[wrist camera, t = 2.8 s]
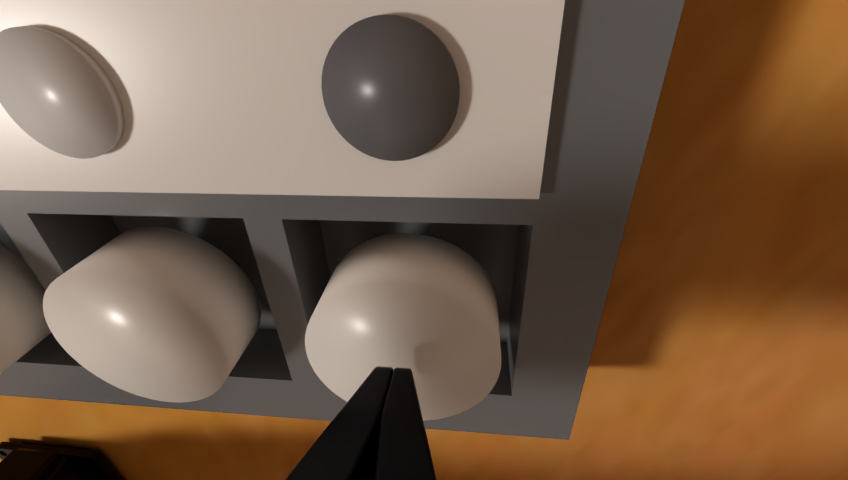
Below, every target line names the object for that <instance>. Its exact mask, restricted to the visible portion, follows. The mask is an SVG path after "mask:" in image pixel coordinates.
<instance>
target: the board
mask: <svg viewBox="0 0 848 480" xmlns="http://www.w3.org/2000/svg"><path fill="white" fill-rule="evenodd" d="M684 2H685V0H0V244H1V245H2V246H4V247H5V248H7V249H8V250H10V251H11V252H12V253H14V254H15V255H17V256H18V257H19V258H20V259H22V260H23V261H24V262H25V263H26V264H27V265H28V266H29V267H30V268H31V270H32V271H33V273H34V274H35V276H36V277H37V279H38V280H39V282H40V283H41V285H42V286H43V288H44V289H45V291H46V289H47V288H48V286H49V285H50V284H51V283H52V282H53V281H54V280H55V279H56V278H58V277H59V276H60V275H62V274H63V273H65V272H66V271H68V270H69V269H71V268H72V267H73V266H75V265H76V264H78V263H79V262H81V261H82V260H84V259H85V258H87V257H88V256H89V255H91V254H92V253H94V252H95V251H97V250H98V249H100V248H101V247H102V246H104V245H105V244H107V243H108V242H110V241H111V240H113V239H114V238H116V237H117V236H118V235H120V234H122V233H124V232H125V231H128V230H131V229H134V228H139V227H151V226H155V227H165V228H170V229H176V230H179V231H182V232H186V233H188V234H191V235H193V236H196V237H198V238H200V239H202V240H204V241H206V242H208V243H210V244H211V245H213V246H215V247H216V248H218V249H219V250H221V251H222V252H223V253H225V254H226V255H227V256H228V257H230V258H231V259H232V260H233V261H234V262H235V263H236V264H237V265H238V266H239V267H240V268H241V269H242V270H243V272H244V273H245V274H246V275H247V277H248V278H249V279H250V281H251V282H252V284H253V286H254V288H255V290H256V292H257V295H258V297H259V300H260V305H261V322H260V325H259V328H258V330H257V332H256V333H255V335H254V337H253V338H252V340H251V341H250V343H249V344H248V346H247V348H246V349H245V351H244V352H243V354H242V355H241V357H240V359H239V360H238V362H237V363H236V365H235V366H234V368H233V369H232V371H231V373H230V374H229V376H228V377H227V379H226V380H225V382H224V384H223V385H222V386H221V388H220V389H219V390H218V391H217V392H215V393H214V394H213V395H211V396H209V397H207V398H204V399H201V400H198V401H192V402H182V403H176V402H164V401H158V400H152V399H148V398H145V397H141V396H138V395H135V394H132V393H129V392H127V391H124V390H122V389H120V388H117V387H115V386H113V385H111V384H109V383H107V382H106V381H104V380H102V379H100V378H99V377H97V376H96V375H94V374H93V373H91V372H90V371H88V370H87V369H85V368H84V367H83V366H82V365H80V364H79V363H78V362H77V361H76V360H75V359H73V358H72V357H71V356H70V355H69V354H68V353H67V352H66V351H65V350H64V349H63V348H62V346H61V345H60V344H59V342H58V341H57V340H56V339H55V337H54V335H53V334H52V333H50V334H49V335H48V336H47V337H45V338H44V339H43V340H42V341H41V342H39V343H38V344H37V345H36V346H34V347H33V348H32V349H31V350H29V351H28V352H27V353H26V354H25V355H23V356H22V357H21V358H20V359H18V360H17V361H16V362H15V363H13V364H12V365H11V366H10V367H8V368H7V369H6V370H5V371H4V372H2V373H1V374H0V395H7V396H19V397H32V398H45V399H57V400H70V401H83V402H96V403H108V404H121V405H134V406H147V407H159V408H172V409H185V410H198V411H210V412H223V413H236V414H249V415H261V416H274V417H287V418H300V419H312V420H325V421H333V419H334V418H335V417H336V416H337V414H338V413H339V412H340V411H341V409H342V408H343V407H344V406H345V404H346V403H347V402H346V401H345V400H343V399H342V398H340V397H339V396H337V395H336V394H335V393H333V392H332V391H331V390H330V389H329V388H328V387H327V386H326V385H325V384H324V383H323V382H322V381H321V380H320V379H319V377H318V376H317V375H316V373H315V372H314V370H313V368H312V366H311V364H310V362H309V360H308V357H307V354H306V348H305V334H306V329H307V325H308V323H309V321H310V318H311V316H312V314H313V312H314V310H315V308H316V306H317V304H318V302H319V300H320V298H321V296H322V294H323V292H324V290H325V288H326V286H327V284H328V282H329V280H330V278H331V276H332V274H333V272H334V270H335V268H336V267H337V265H338V263H339V262H340V261H341V259H342V258H343V257H344V256H345V255H346V254H347V253H348V252H349V251H351V250H352V249H353V248H354V247H356V246H358V245H360V244H361V243H363V242H365V241H368V240H370V239H372V238H376V237H379V236H383V235H389V234H396V233H412V234H421V235H427V236H432V237H435V238H438V239H441V240H444V241H446V242H449V243H451V244H453V245H455V246H457V247H459V248H460V249H462V250H464V251H465V252H466V253H468V254H469V255H470V256H472V257H473V258H474V259H475V260H476V261H477V262H478V263H479V264H480V265H481V266H482V267H483V269H484V270H485V271H486V273H487V274H488V276H489V277H490V279H491V281H492V283H493V286H494V289H495V291H496V297H497V305H498V319H499V332H500V346H501V370H500V375H499V377H498V380H497V382H496V384H495V386H494V387H493V389H492V390H491V392H490V393H489V394H488V395H487V396H486V397H485V398H484V399H483V400H482V401H480V402H479V403H478V404H476V405H475V406H473V407H472V408H470V409H468V410H466V411H464V412H462V413H459V414H456V415H453V416H450V417H446V418H441V419H435V420H425V421H423V422H424V427H425V428H427V429H440V430H452V431H465V432H478V433H491V434H503V435H516V436H529V437H542V438H554V439H567V440H569V437H570V434H571V430H572V426H573V422H574V418H575V415H576V411H577V407H578V403H579V400H580V396H581V392H582V388H583V384H584V381H585V377H586V373H587V369H588V366H589V362H590V358H591V354H592V350H593V347H594V343H595V339H596V335H597V331H598V328H599V324H600V320H601V316H602V313H603V309H604V305H605V301H606V297H607V294H608V290H609V286H610V282H611V278H612V275H613V271H614V267H615V263H616V260H617V256H618V252H619V248H620V244H621V241H622V237H623V233H624V229H625V225H626V222H627V218H628V214H629V210H630V207H631V203H632V199H633V195H634V191H635V188H636V184H637V180H638V176H639V172H640V169H641V165H642V161H643V157H644V154H645V150H646V146H647V142H648V138H649V135H650V131H651V127H652V123H653V119H654V116H655V112H656V108H657V104H658V101H659V97H660V93H661V89H662V85H663V82H664V78H665V74H666V70H667V67H668V63H669V59H670V55H671V51H672V48H673V44H674V40H675V36H676V32H677V29H678V25H679V21H680V17H681V14H682V10H683V6H684Z"/></svg>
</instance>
